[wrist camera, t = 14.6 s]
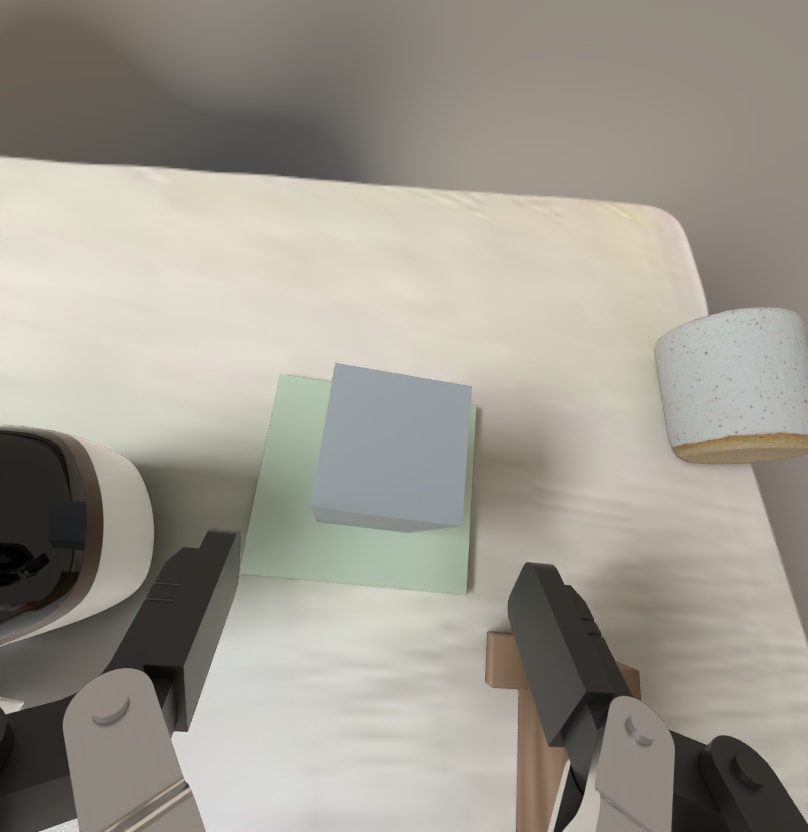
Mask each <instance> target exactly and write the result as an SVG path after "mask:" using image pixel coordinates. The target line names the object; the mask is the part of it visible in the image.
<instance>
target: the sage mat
mask: <svg viewBox="0 0 808 832" xmlns="http://www.w3.org/2000/svg"><path fill="white" fill-rule="evenodd" d="M331 385H332V382H327V381H321V380H315V379H308V378H302V377H296V376H290V375H283V374H280V377H279V382H278V386H277V391H276V396H275V401H274V406H273V410H272V415H271V420H270V425H269V430H268V435H267V439H266V444H265V449H264V454H263V459H262V463H261V468H260V473H259V478H258V483H257V487H256V492H255V497H254V502H253V507H252V512H251V516H250V521H249V526H248V531H247V536H246V540H245V545H244V550H243V555H242V560H241V564H240V570H239V574H248V575H258V576H269V577H279V578H290V579H300V580H311V581H321V582H332V583H342V584H352V585H363V586H373V587H384V588H394V589H405V590H415V591H425V592H436V593H446V594H457V595H466V591H467V573H468V554H469V536H470V517H471V499H472V480H473V462H474V443H475V425H476V407H477V405H471V404H470V418H469V433H468V448H467V464H466V479H465V494H464V509H463V524H462V526H460V527H452V528H444V529H436V530H427V531H419V532H411V533H404V532H396V531H388V530H380V529H372V528H363V527H355V526H347V525H339V524H331V523H322V522H317V521H316V519H315V517H314V515H313V512H312V510H311V508H310V505H311V499H312V494H313V488H314V482H315V476H316V471H317V465H318V459H319V453H320V448H321V442H322V436H323V431H324V425H325V419H326V413H327V408H328V402H329V396H330V390H331Z"/></svg>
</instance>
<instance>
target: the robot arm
mask: <svg viewBox="0 0 808 832" xmlns="http://www.w3.org/2000/svg"><path fill="white" fill-rule="evenodd" d="M239 570H240V531H231V530H221V529H212V528H211V529H209V530H208V532H207V534H206V536H205V538H204V540H203V542H202V544H201V546H200V548H199V549H198V548H188V547H183V548H182V549H181V550H180V551H178V552H177V553H176V554H175V555H174V556H173V557H172V558H170V559H169V560H168V561H167V562H166V563H165V565H164V567H163V568H162V570H161V572H160V574H159V576H158V577H157V579H156V582H155V585H153V586H152V588H151V590H150V592H149V594H148V595H147V599H146V601H144V603H143V604H142V606H141V608H140V610H139V612H138V613H137V615H136V617H135V619H134V621H133V622H132V624H131V626H130V628H129V630H128V631H127V633H126V635H125V637H124V639H123V640H122V642H121V644H120V646H119V648H118V649H117V651H116V653H115V655H114V657H113V658H112V660H111V662H110V663H109V665H108V666H107V668H106V669H105V670H104V671H103V673H102V674H101V675H100V676H98V677H97V678H95V679H93V680H92V681H91V682H89V683H88V684H87V685H85V686H84V687H83V688H82V689H81V690H80V691H79V692H77V693H75V694H73V695H71V696H69V697H67V698H64V699H62V700H59V701H55V702H52V703H48V704H44V705H40V706H36V707H32V708H28V709H24V710H20V711H17V712H13V713H9V714H5V713H4V711H3V709H2V708H1V707H0V832H39V831H42V830H45V829H48V828H50V827H53V826H56V825H59V824H62V823H64V822H67V821H70V820H73V819H76V818H77V819H78V825H79V831H80V832H206V831H205V828H204V825H203V822H202V819H201V816H200V813H199V810H198V807H197V804H196V801H195V799H194V796H193V793H192V791H191V789H190V786H189V785H188V783H186V782H185V780H184V777H183V775H182V772H181V769H180V766H179V763H178V760H177V757H176V754H175V750H174V747H173V744H172V741H171V737H172V734H173V731H180V732H188V730H189V727H190V724H191V721H192V718H193V715H194V712H195V709H196V706H197V703H198V700H199V698H200V695H201V692H202V689H203V686H204V683H205V680H206V677H207V674H208V671H209V668H210V666H211V663H212V660H213V657H214V654H215V651H216V648H217V645H218V642H219V639H220V636H221V634H222V631H223V628H224V625H225V622H226V619H227V616H228V613H229V610H230V607H231V604H232V602H233V599H234V596H235V592H236V588H237V584H238V579H239ZM508 617H509V621H510V625H511V628H512V631H513V634H514V638H515V641H516V644H517V647H518V650H519V654H520V657H521V660H522V663H523V667H524V670H525V673H526V676H527V680H528V683H529V686H530V689H531V693H532V696H533V699H534V702H535V705H536V709H537V712H538V715H539V718H540V722H541V725H542V728H543V731H544V735H545V738H546V741H547V744H548V747H565V748H566V751H567V754H568V757H569V759H568V761H567V762H566V764H565V767H564V771H563V775H562V779H561V782H560V786H559V790H558V794H557V798H556V801H555V805H554V809H553V813H552V817H551V821H550V824H549V828H548V832H808V824H807V822H806V821H805V819H804V818H803V816H802V815H801V813H800V811H799V810H798V808H797V807H796V805H795V804H794V802H793V800H792V799H791V797H790V796H789V794H788V793H787V791H786V789H785V788H784V786H783V785H782V783H781V782H780V780H779V779H778V777H777V775H776V774H775V773H774V771H773V770H772V768H771V767H770V766H769V765H768V763H767V762H766V761H765V760H764V759H763V758H762V757H761V756H760V755H759V754H758V753H757V752H756V751H754V750H753V749H752V748H751V747H749V746H748V745H746V744H745V743H743V742H742V741H740V740H738V739H736V738H733V737H730V736H725V735H721V736H717V737H716V738H714V739H713V740H712V741H711V742H710V743H709V744H708V745H705V744H703V743H700V742H698V741H695V740H693V739H690V738H688V737H685V736H683V735H680V734H678V733H676V732H673V731H671V730H669V729H668V728H667V726H666V725H665V723H664V722H663V721H662V719H661V718H660V717H659V716H658V715H657V714H656V712H655V711H653V710H652V709H651V708H650V707H649V706H647V705H646V704H645V703H643V702H641V701H639V700H637V699H635V698H634V697H633V695H632V693H631V691H630V689H629V688H628V686H627V684H626V682H625V680H624V678H623V676H622V674H621V672H620V670H619V668H618V666H617V664H616V662H615V660H614V658H613V656H612V654H611V652H610V650H609V648H608V646H607V644H606V642H605V640H604V638H602V637H601V632H600V630H599V628H598V626H597V624H596V623H594V618H593V616H592V614H591V612H590V610H589V608H588V606H587V604H586V602H585V601H584V600H583V599H582V598H581V597H580V595H579V594H578V593H577V592H576V591H575V590H574V589H573V588H572V586H571V585H564V583H563V581H562V579H561V576H560V574H559V572H558V570H557V568H556V567H555V566H554V565H550V564H541V563H531V562H527V563H525V565H524V566H523V568H522V570H521V572H520V575H519V577H518V579H517V581H516V583H515V585H514V588H513V590H512V592H511V594H510V596H509V600H508Z"/></svg>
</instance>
